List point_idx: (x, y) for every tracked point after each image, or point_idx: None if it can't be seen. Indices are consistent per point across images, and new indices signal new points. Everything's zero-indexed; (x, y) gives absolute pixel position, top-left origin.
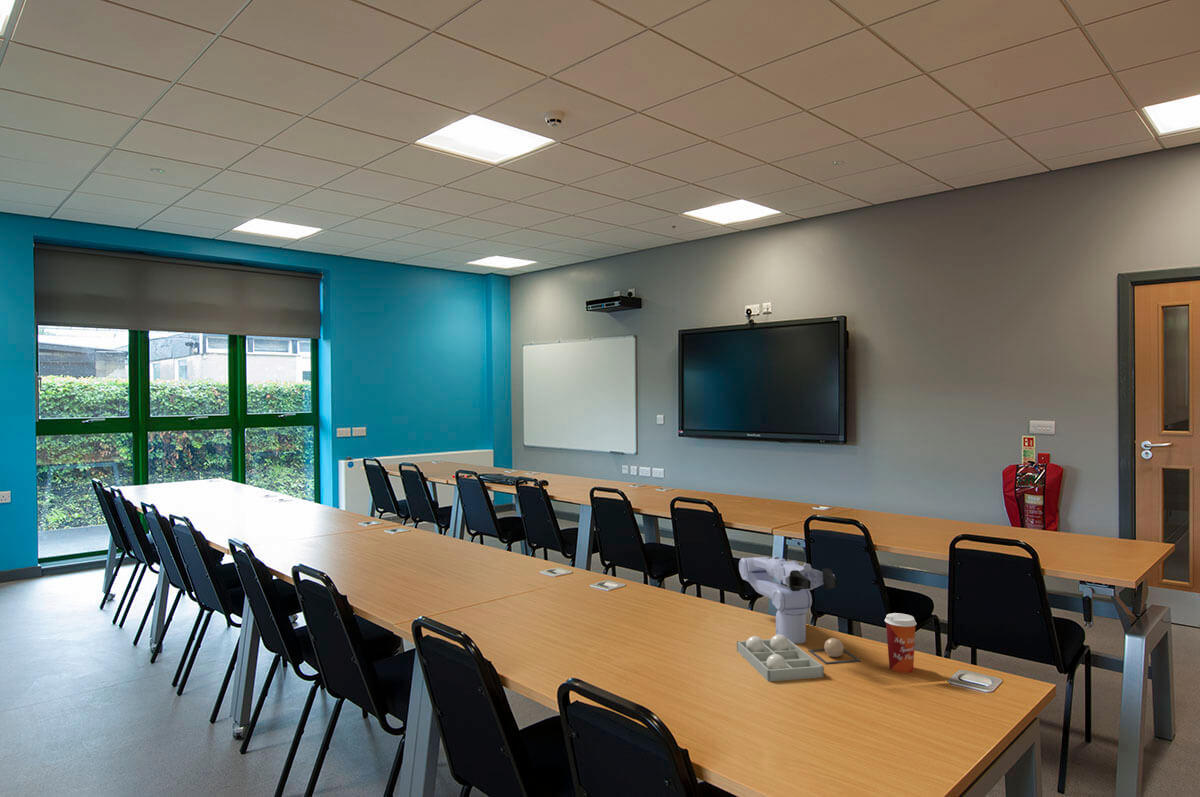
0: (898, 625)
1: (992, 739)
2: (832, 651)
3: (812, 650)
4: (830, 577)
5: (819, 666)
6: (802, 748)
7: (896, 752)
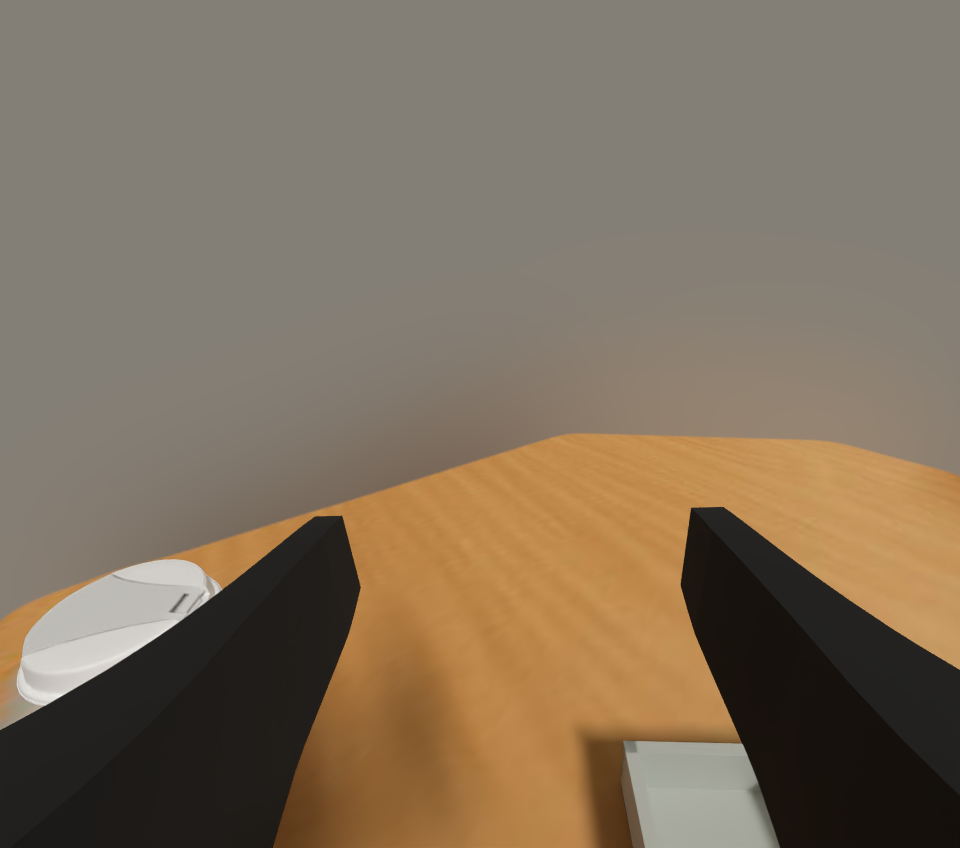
0: (217, 583)
1: (410, 483)
2: None
3: None
4: (274, 617)
5: (644, 745)
6: (755, 487)
7: (588, 472)
